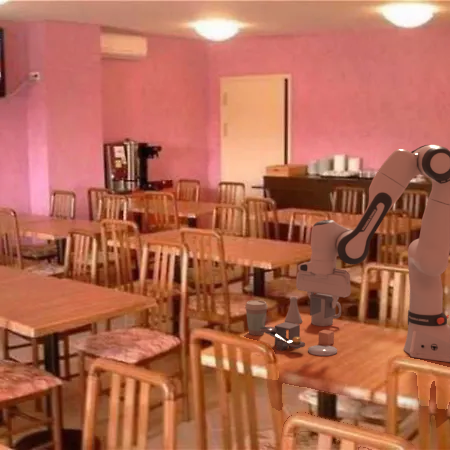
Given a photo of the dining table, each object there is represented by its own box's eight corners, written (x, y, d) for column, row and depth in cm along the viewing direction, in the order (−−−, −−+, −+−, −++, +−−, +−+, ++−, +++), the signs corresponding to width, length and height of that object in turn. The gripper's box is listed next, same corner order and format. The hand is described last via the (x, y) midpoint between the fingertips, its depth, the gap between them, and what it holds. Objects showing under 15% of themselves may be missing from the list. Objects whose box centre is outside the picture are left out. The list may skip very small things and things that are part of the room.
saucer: (342, 350, 270) (342, 348, 270) (327, 357, 263) (327, 355, 262) (318, 345, 276) (318, 343, 276) (302, 352, 269) (302, 350, 269)
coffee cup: (265, 336, 288) (265, 305, 286) (243, 335, 290) (243, 304, 288) (269, 330, 296) (269, 300, 295) (247, 329, 298) (247, 299, 296)
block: (333, 343, 279) (334, 331, 279) (328, 346, 276) (328, 333, 276) (324, 341, 282) (324, 329, 281) (318, 344, 279) (318, 332, 278)
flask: (301, 325, 304) (301, 300, 303) (283, 324, 305) (283, 299, 304) (303, 320, 311) (303, 296, 310) (285, 319, 312) (285, 295, 311)
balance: (308, 351, 270) (308, 334, 269) (298, 355, 265) (298, 338, 264) (266, 342, 281) (266, 325, 280) (256, 346, 276) (256, 329, 275)
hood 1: (299, 343, 279) (299, 324, 278) (289, 347, 274) (289, 328, 273) (285, 340, 283) (285, 321, 282) (275, 344, 278) (275, 325, 277)
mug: (308, 325, 304) (308, 297, 302) (314, 319, 312) (315, 293, 310) (338, 328, 299) (338, 300, 298) (343, 322, 307) (344, 295, 305)
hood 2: (335, 314, 268) (335, 295, 267) (325, 318, 263) (326, 298, 262) (319, 311, 272) (320, 292, 271) (309, 315, 267) (310, 295, 266)
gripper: (354, 269, 261) (353, 308, 263) (303, 262, 274) (303, 300, 276) (345, 272, 256) (344, 312, 258) (293, 265, 269) (293, 303, 271)
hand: (322, 306), depth 267 cm, fingers closed on hood 2, 6 cm apart
